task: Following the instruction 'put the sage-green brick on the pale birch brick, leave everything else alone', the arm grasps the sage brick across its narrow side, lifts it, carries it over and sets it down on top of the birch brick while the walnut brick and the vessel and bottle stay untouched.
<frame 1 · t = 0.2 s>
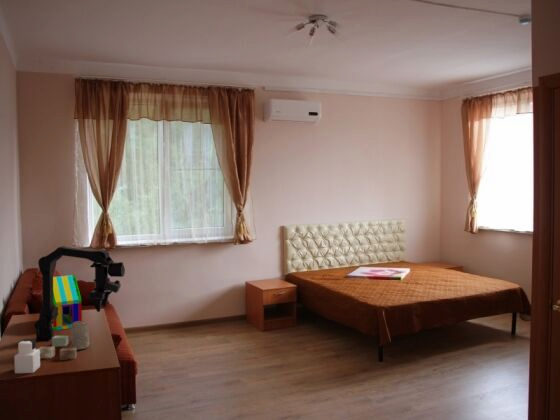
hand: (101, 309, 238), 14 cm above the cabinet, fingers open, 9 cm apart
medicine bottle: (27, 370, 199), on the cabinet
carving: (80, 348, 225), on the cabinet
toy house: (62, 323, 265), on the cabinet
sage brick: (60, 345, 229), on the cabinet
birch brick: (46, 357, 214), on the cabinet
walnut brick: (68, 358, 213), on the cabinet
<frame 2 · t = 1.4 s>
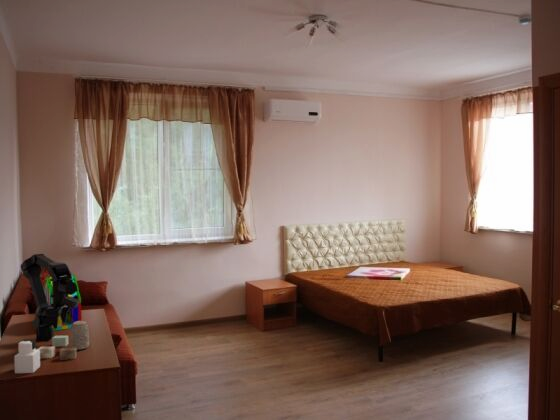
hand: (59, 325, 229), 9 cm above the cabinet, fingers open, 9 cm apart
nothing on the cabinet moved.
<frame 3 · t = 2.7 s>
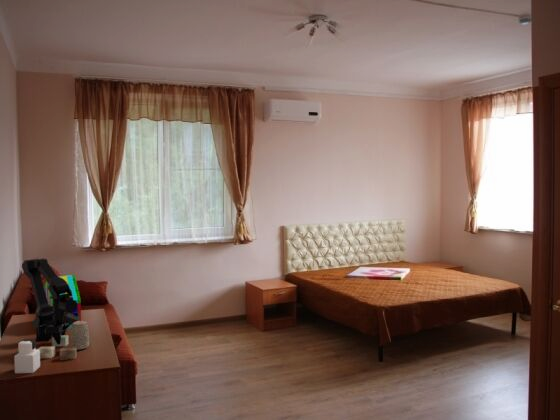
hand: (60, 342, 229), 1 cm above the cabinet, fingers closed on sage brick, 3 cm apart
sage brick: (60, 345, 229), on the cabinet, touching gripper
everything else where it was.
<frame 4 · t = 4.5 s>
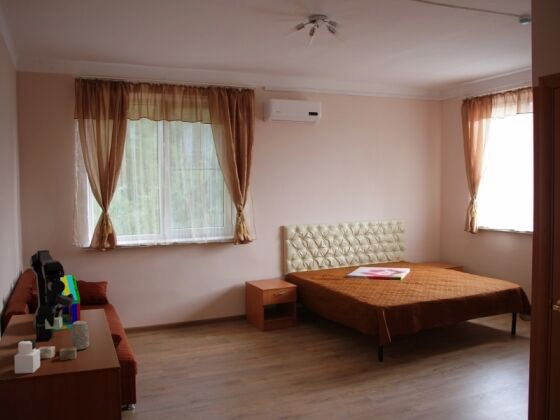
hand: (53, 325, 221), 11 cm above the cabinet, fingers closed on sage brick, 3 cm apart
sage brick: (53, 327, 221), point 10 cm above the cabinet, touching gripper
everything else where it was.
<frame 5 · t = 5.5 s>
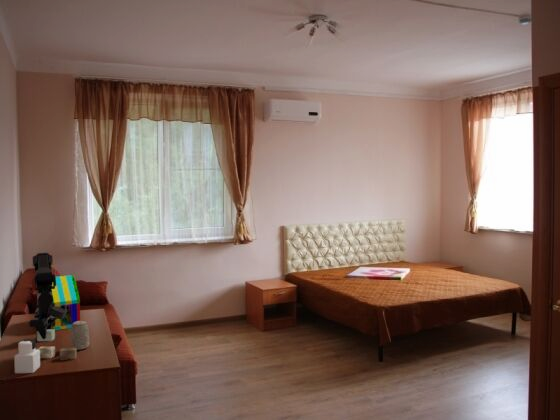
hand: (45, 337, 214), 8 cm above the cabinet, fingers closed on sage brick, 3 cm apart
sage brick: (46, 339, 214), point 7 cm above the cabinet, touching gripper
everything else where it was.
when the fingers open (6 cm above the cabinet, at t = 6.1 s): sage brick drops 1 cm, resting on birch brick.
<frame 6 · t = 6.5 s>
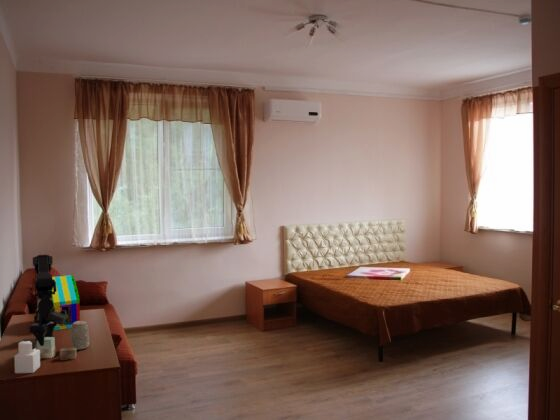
hand: (46, 342, 214), 6 cm above the cabinet, fingers open, 7 cm apart
sage brick: (45, 347, 214), point 4 cm above the cabinet, touching birch brick
birch brick: (46, 356, 214), on the cabinet, touching sage brick
everything else where it was.
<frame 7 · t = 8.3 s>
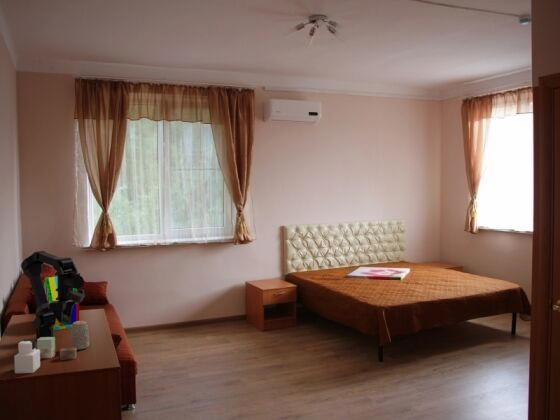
hand: (64, 319, 229), 12 cm above the cabinet, fingers open, 9 cm apart
nothing on the cabinet moved.
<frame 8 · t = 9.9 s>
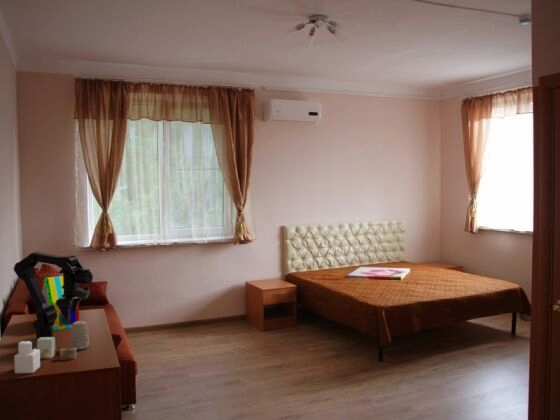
hand: (70, 316, 234), 12 cm above the cabinet, fingers open, 9 cm apart
at the end: sage brick 0.0 cm off-centre on the birch brick, point 4.0 cm above the birch brick's base; birch brick moved 0.1 cm from its start; walnut brick moved 0.2 cm from its start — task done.
